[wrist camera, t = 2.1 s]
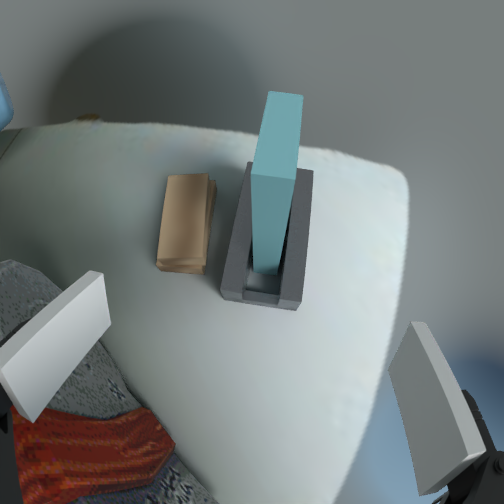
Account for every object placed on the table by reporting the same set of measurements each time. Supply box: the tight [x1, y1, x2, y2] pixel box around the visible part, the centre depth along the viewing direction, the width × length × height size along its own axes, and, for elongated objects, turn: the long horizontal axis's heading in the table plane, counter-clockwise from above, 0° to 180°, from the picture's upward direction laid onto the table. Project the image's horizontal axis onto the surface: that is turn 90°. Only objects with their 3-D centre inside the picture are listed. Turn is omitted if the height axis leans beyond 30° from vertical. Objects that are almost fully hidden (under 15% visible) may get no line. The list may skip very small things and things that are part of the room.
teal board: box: [251, 91, 303, 276], centre depth 25 cm, size 2×8×17 cm, turn 171°
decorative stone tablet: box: [0, 259, 220, 504], centre depth 18 cm, size 19×6×30 cm
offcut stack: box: [156, 173, 217, 275], centre depth 32 cm, size 6×11×4 cm, turn 176°
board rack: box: [220, 162, 313, 311], centre depth 31 cm, size 8×15×4 cm, turn 171°
